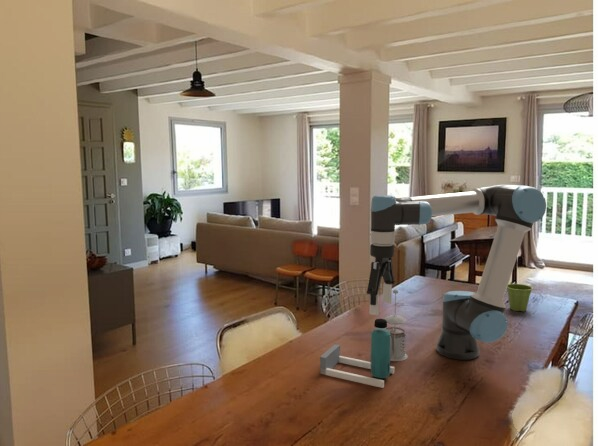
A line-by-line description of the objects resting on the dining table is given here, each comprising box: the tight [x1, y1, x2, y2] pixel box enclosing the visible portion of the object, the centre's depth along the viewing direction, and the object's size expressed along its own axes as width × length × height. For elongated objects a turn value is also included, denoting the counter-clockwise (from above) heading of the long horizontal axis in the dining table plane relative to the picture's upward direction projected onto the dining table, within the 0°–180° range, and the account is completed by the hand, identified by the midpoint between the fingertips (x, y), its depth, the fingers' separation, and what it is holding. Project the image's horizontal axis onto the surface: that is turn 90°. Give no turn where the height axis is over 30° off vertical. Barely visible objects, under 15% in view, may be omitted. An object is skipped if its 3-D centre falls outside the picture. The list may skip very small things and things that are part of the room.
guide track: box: [319, 343, 395, 389], centre depth 158 cm, size 22×12×6 cm, turn 62°
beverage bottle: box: [369, 318, 391, 379], centre depth 154 cm, size 6×7×20 cm
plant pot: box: [506, 283, 534, 312], centre depth 225 cm, size 12×12×11 cm
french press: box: [383, 289, 408, 362], centre depth 170 cm, size 10×12×25 cm
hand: (380, 308), depth 152 cm, fingers open, 13 cm apart
